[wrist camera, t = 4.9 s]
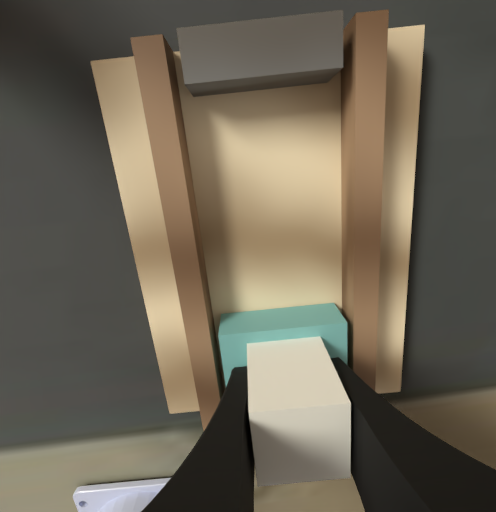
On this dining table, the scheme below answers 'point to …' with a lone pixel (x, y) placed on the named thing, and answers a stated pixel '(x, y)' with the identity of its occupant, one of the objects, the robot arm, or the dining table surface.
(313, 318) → the slider
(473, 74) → the dining table surface
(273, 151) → the track
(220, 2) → the dining table surface
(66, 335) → the dining table surface
